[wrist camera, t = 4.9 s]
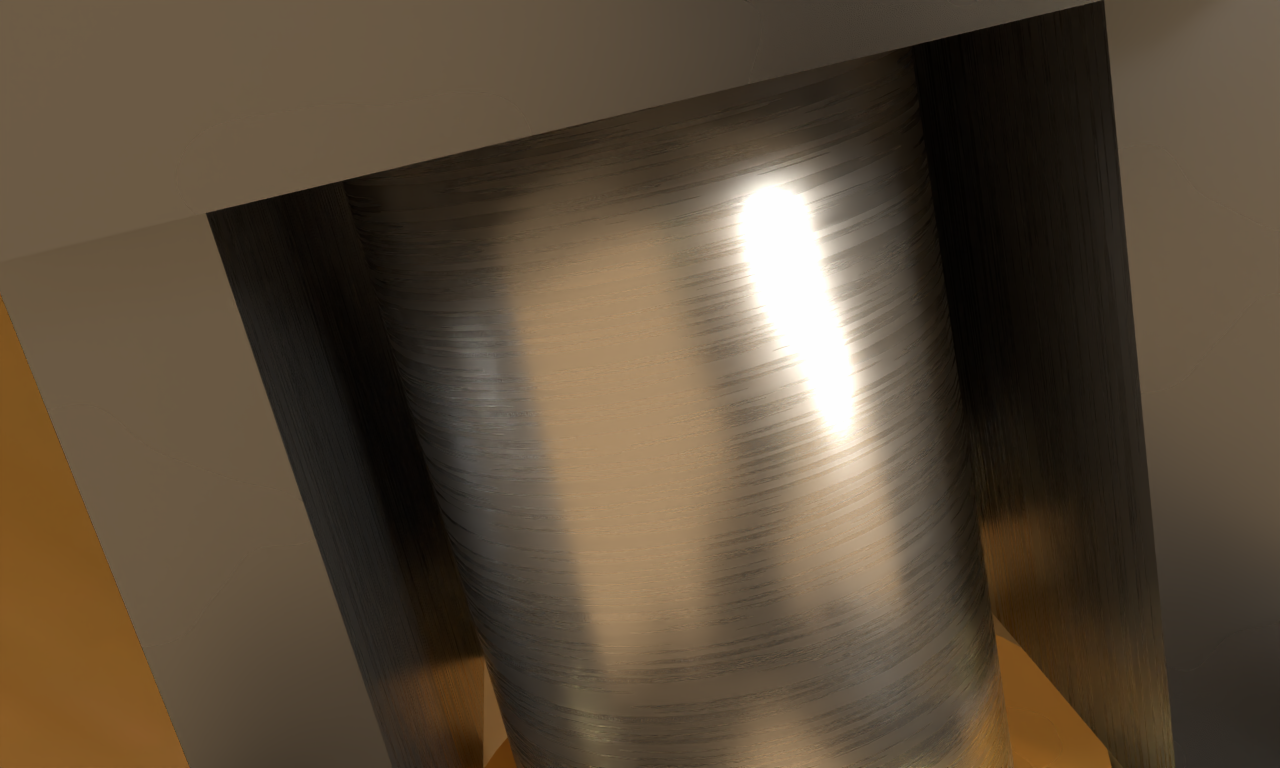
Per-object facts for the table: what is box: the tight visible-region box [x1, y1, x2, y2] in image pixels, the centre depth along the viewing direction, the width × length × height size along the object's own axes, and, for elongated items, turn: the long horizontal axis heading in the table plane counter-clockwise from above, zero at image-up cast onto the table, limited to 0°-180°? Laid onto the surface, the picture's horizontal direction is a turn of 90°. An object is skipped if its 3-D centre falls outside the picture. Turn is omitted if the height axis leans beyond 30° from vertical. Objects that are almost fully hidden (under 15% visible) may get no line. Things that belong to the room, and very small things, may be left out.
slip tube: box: [342, 46, 1112, 768], centre depth 11 cm, size 19×6×6 cm, turn 13°
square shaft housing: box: [0, 0, 1280, 768], centre depth 11 cm, size 11×8×11 cm
